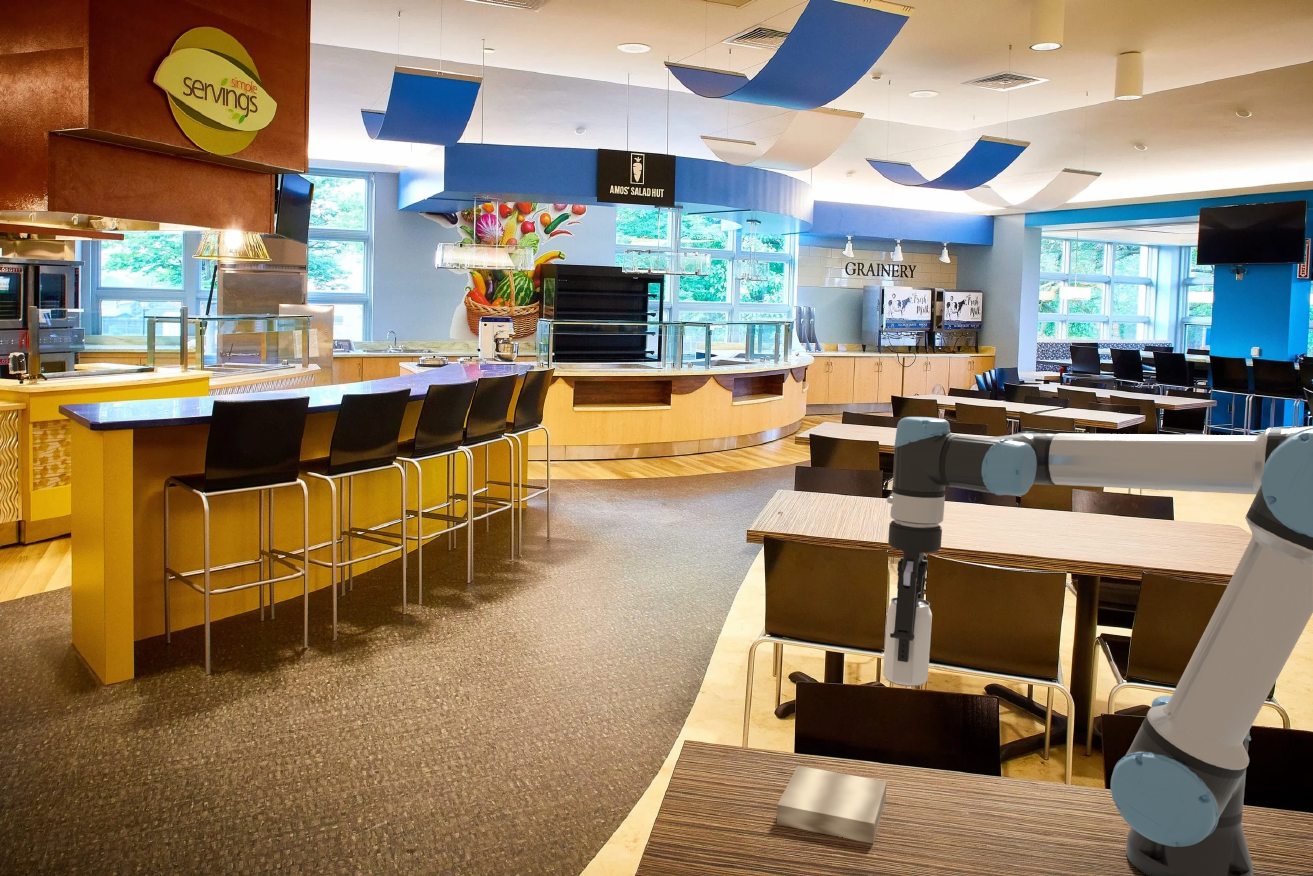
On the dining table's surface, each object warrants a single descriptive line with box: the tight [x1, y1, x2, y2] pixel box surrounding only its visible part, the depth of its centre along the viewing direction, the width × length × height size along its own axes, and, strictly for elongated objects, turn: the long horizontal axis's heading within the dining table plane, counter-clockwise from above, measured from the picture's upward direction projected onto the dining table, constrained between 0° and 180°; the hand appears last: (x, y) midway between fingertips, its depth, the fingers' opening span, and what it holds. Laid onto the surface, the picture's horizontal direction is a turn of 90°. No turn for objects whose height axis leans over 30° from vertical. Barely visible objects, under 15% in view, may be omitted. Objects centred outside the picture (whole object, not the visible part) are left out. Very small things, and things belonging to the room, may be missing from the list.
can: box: [882, 596, 933, 688], centre depth 140 cm, size 6×6×12 cm
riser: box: [776, 765, 887, 844], centre depth 142 cm, size 14×14×3 cm
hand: (905, 673), depth 141 cm, fingers closed on can, 6 cm apart
